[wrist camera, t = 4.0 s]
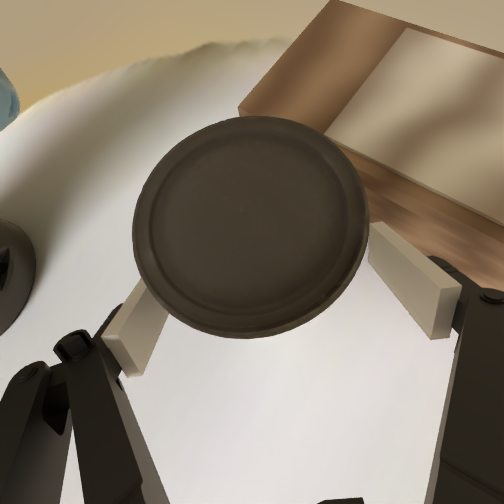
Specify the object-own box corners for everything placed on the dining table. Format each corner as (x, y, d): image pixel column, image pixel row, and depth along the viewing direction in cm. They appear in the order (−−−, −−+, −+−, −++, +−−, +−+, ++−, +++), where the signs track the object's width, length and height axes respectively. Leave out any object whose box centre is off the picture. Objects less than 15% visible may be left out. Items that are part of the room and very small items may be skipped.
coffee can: (197, 303, 24) (87, 277, 11) (241, 211, 26) (193, 94, 13) (299, 350, 22) (318, 390, 9) (338, 245, 24) (402, 144, 11)
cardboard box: (250, 162, 28) (236, 103, 20) (321, 76, 30) (332, -7, 22) (523, 321, 20) (659, 319, 13) (593, 191, 22) (746, 124, 15)
